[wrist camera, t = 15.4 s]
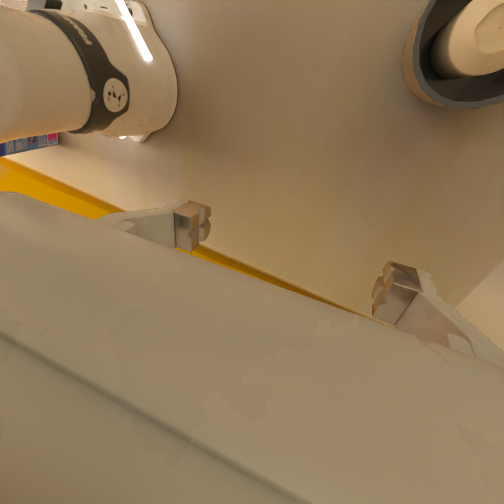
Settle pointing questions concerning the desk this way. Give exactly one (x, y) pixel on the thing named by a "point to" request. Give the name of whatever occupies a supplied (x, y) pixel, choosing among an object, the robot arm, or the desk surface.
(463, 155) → the desk surface
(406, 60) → the pen holder
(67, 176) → the desk surface
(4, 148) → the ink cartridge box
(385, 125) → the desk surface
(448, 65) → the candle
